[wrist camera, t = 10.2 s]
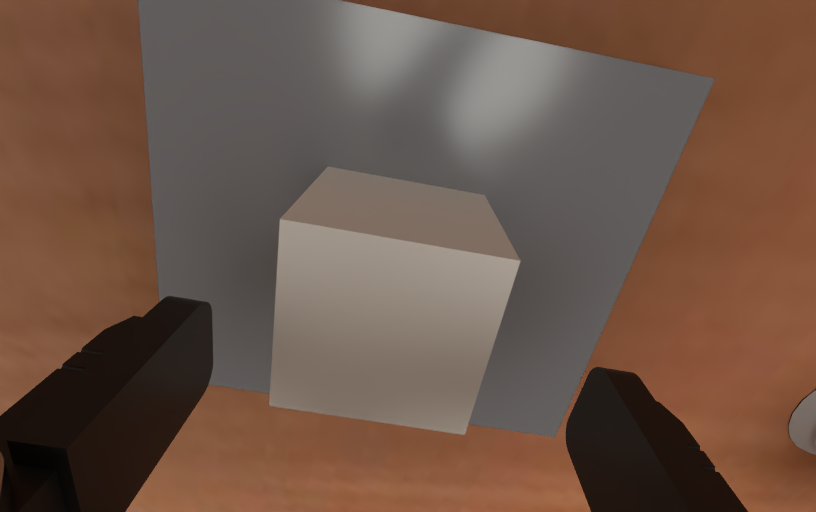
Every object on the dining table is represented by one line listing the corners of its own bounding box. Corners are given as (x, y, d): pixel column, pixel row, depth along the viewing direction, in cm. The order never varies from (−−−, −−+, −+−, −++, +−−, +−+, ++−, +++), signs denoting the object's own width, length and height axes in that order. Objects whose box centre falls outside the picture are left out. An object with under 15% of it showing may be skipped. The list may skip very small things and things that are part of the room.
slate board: (674, 77, 14) (714, 78, 12) (541, 402, 19) (554, 437, 17) (175, -27, 13) (135, -43, 11) (189, 347, 18) (164, 377, 16)
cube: (484, 195, 13) (520, 260, 9) (450, 325, 15) (464, 434, 11) (327, 166, 13) (279, 218, 8) (313, 303, 15) (269, 405, 10)
